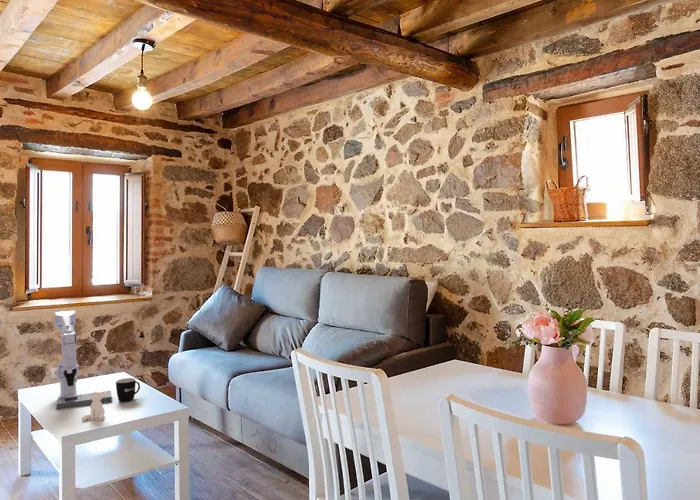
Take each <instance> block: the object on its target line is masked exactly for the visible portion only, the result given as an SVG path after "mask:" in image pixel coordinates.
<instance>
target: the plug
mask: <svg viewBox="0 0 700 500" xmlns="http://www.w3.org/2000/svg"><path fill="white" fill-rule="evenodd" d="M77 377H78V376H77ZM77 377H74V383H73V386H68V385H67V380H66V393H70V392H75V391H77V385H76V386H75V382H76V383H78V379H77Z"/></svg>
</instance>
